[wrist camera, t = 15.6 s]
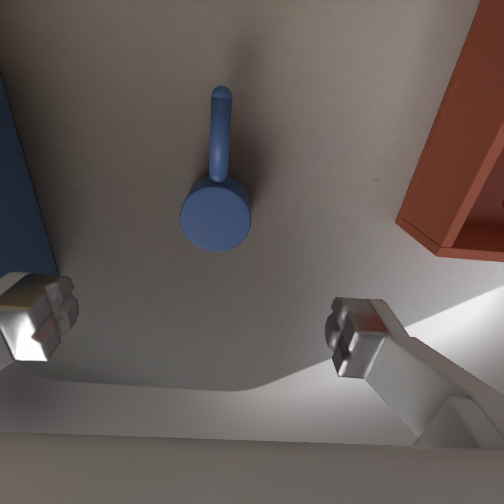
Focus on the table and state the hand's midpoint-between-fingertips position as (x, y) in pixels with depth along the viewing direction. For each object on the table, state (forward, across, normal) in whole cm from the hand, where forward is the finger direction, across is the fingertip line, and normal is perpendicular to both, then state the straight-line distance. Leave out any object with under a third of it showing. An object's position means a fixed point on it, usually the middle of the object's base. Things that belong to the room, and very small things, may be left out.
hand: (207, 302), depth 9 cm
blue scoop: (+10, 0, -2) cm, 10 cm away
